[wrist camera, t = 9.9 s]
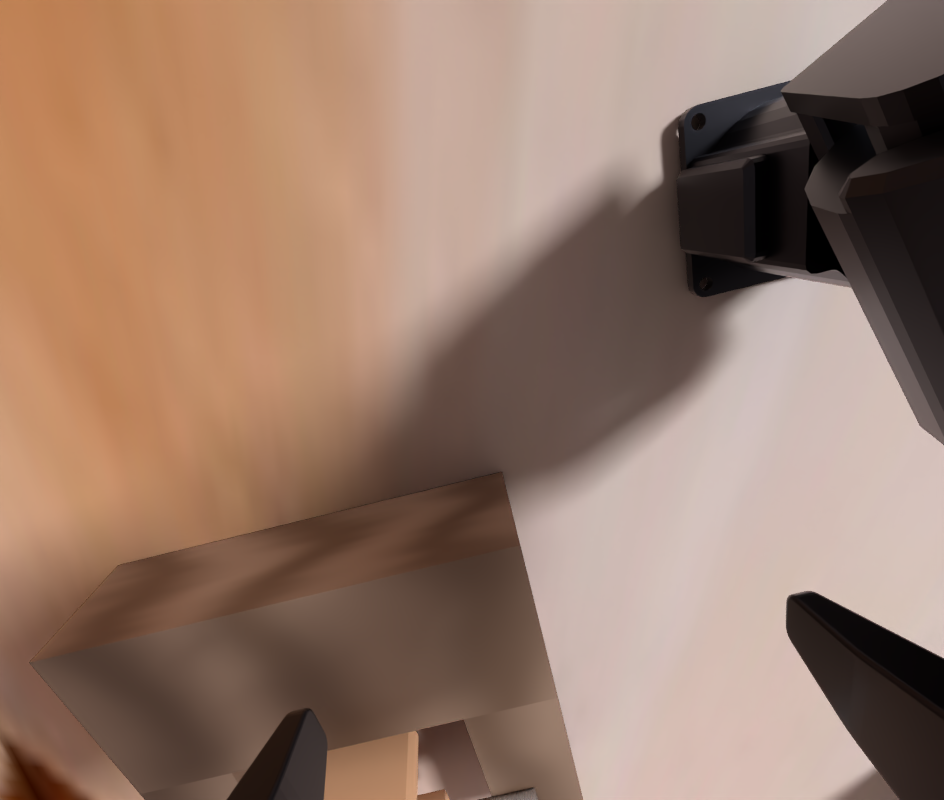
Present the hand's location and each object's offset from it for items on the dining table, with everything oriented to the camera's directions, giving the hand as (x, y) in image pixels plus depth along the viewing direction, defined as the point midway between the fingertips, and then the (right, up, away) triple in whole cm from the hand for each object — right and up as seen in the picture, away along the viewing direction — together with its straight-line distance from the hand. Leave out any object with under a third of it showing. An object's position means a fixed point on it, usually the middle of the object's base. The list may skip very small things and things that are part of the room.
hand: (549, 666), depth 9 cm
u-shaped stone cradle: (-6, -9, +16) cm, 20 cm away
